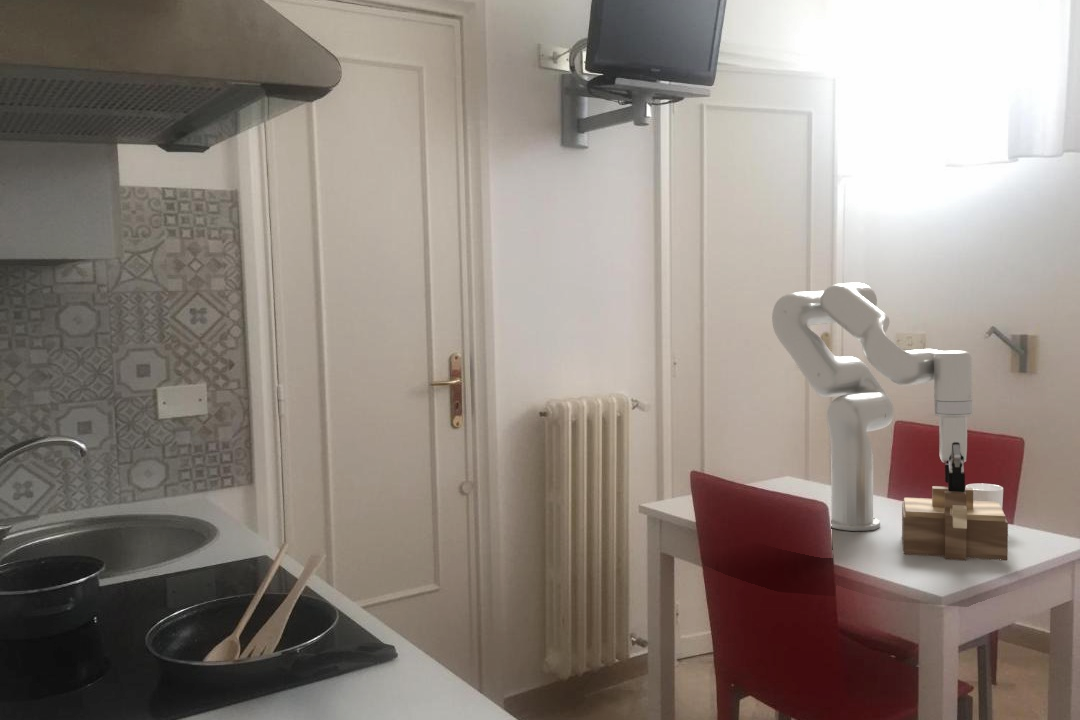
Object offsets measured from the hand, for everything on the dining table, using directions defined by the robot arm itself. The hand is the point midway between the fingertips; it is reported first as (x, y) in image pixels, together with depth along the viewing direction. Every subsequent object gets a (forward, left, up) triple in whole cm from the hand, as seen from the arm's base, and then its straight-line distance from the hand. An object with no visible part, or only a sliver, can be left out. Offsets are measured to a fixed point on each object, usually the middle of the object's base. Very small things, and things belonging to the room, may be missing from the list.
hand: (954, 487), depth 200 cm
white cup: (-18, +8, -14) cm, 24 cm away
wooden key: (+15, 0, -4) cm, 16 cm away
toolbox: (0, 0, -14) cm, 14 cm away
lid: (0, 0, -7) cm, 7 cm away
